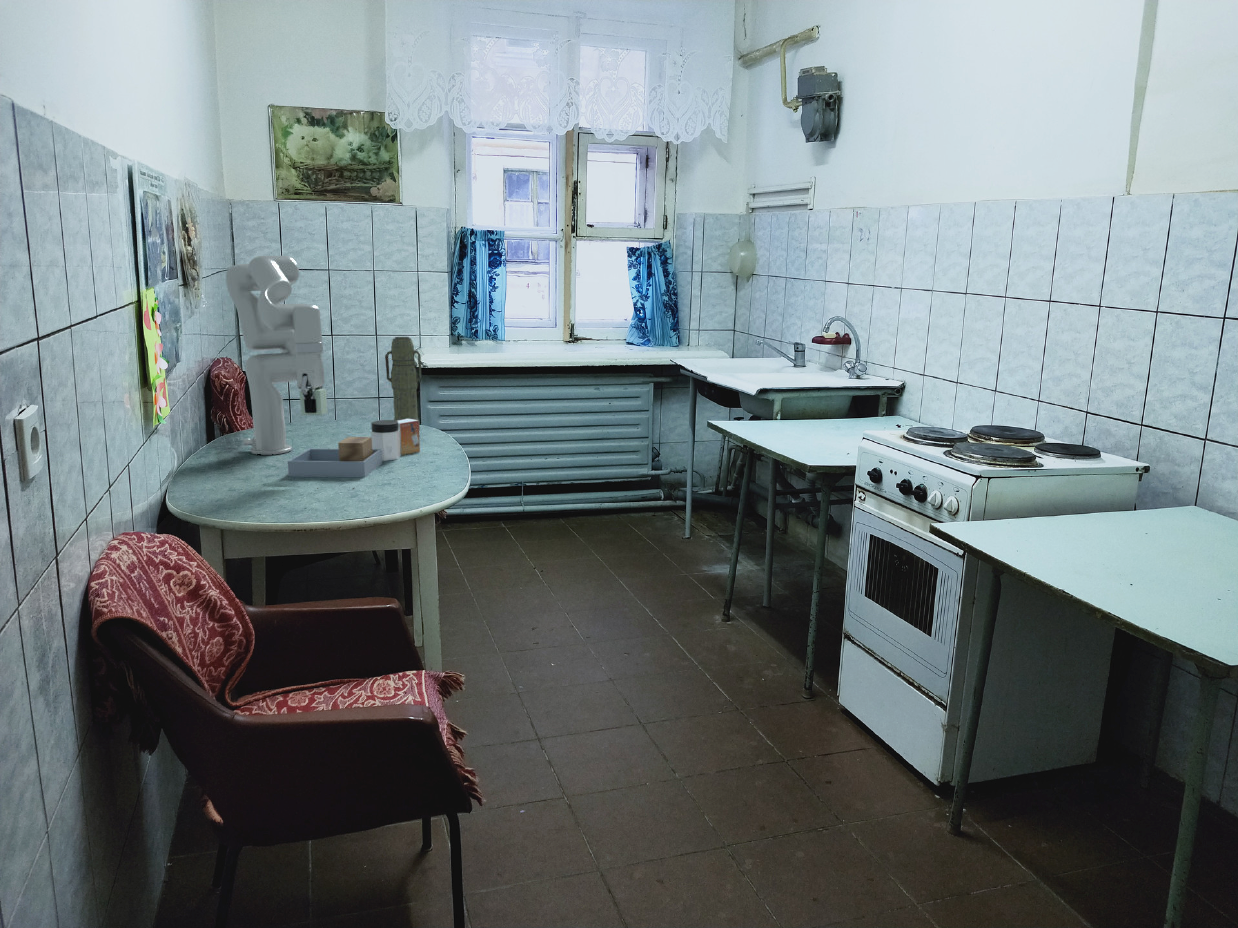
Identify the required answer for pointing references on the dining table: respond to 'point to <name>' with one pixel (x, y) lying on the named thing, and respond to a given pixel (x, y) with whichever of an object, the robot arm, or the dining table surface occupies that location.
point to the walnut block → (355, 448)
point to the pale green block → (320, 402)
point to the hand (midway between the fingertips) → (314, 410)
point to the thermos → (404, 378)
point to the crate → (331, 464)
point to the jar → (386, 438)
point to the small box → (409, 436)
